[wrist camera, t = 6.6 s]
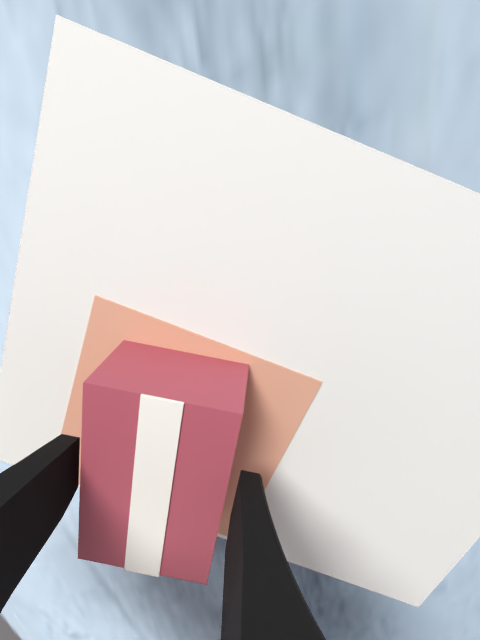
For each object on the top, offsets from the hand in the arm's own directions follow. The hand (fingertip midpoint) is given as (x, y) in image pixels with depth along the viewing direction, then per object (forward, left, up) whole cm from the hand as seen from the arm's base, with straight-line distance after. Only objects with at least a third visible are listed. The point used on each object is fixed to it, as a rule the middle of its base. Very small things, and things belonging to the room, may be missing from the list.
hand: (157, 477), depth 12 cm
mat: (-3, -3, -3) cm, 6 cm away
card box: (0, 0, -2) cm, 2 cm away
